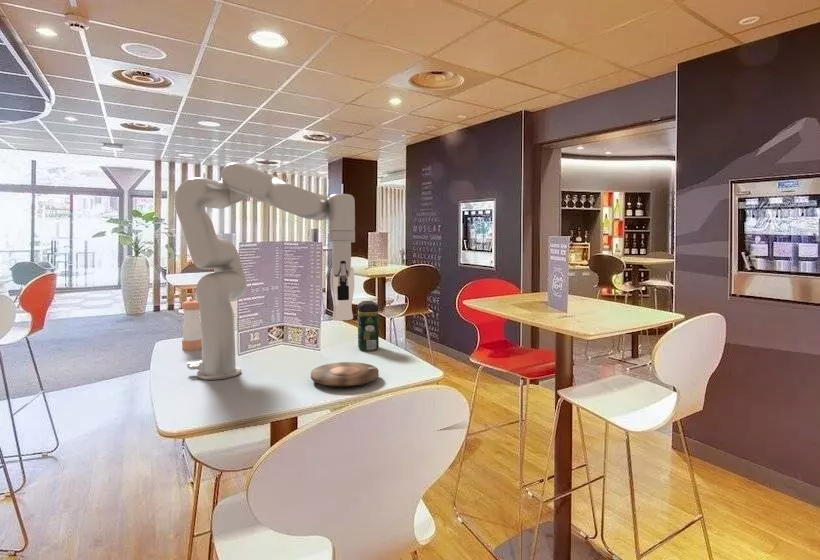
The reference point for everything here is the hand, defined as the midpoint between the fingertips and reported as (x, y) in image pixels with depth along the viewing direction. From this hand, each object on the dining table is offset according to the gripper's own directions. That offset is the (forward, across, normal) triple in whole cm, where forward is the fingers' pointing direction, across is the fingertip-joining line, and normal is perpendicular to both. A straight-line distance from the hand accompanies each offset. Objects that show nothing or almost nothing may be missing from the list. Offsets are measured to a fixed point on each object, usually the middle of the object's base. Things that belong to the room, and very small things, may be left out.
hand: (342, 297), depth 133 cm
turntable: (+23, 0, 0) cm, 23 cm away
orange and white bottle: (+25, -50, -55) cm, 78 cm away
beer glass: (+6, 0, 0) cm, 6 cm away
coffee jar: (+25, -38, +11) cm, 47 cm away
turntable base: (+25, 0, 0) cm, 25 cm away
